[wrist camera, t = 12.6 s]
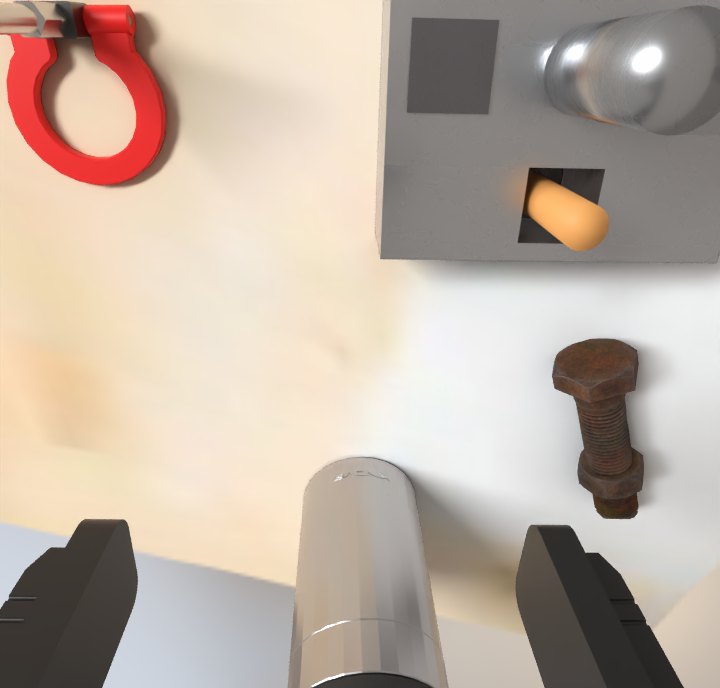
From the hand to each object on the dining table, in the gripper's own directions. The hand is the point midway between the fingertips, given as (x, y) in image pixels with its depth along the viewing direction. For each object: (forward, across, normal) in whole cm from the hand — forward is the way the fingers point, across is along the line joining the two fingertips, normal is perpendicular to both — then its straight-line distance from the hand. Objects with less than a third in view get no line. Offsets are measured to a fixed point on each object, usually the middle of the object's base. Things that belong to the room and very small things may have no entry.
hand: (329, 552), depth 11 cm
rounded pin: (+27, -11, -3) cm, 29 cm away
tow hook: (+27, +14, -7) cm, 31 cm away
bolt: (+27, -20, +15) cm, 37 cm away
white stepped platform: (+26, -14, -9) cm, 31 cm away
